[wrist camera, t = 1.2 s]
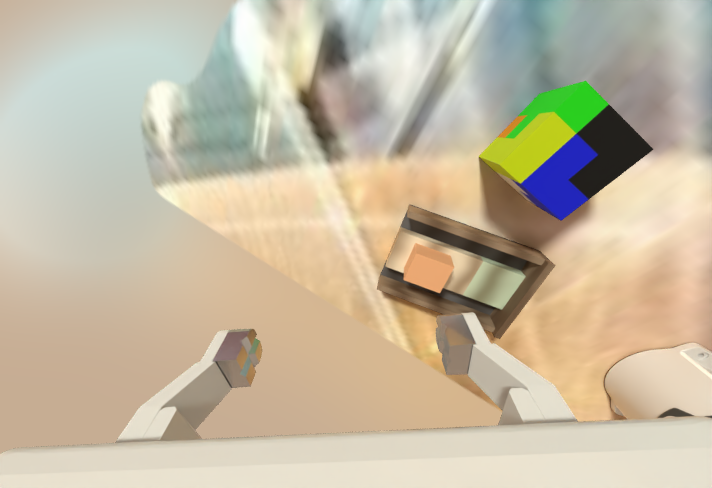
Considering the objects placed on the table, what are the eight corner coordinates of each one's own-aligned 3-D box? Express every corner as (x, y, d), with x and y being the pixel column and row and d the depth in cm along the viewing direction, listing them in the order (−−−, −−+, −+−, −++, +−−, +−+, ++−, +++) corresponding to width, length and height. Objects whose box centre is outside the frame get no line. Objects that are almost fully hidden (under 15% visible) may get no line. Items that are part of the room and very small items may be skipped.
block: (450, 255, 43) (454, 267, 39) (437, 280, 45) (439, 293, 41) (415, 242, 43) (416, 253, 39) (403, 267, 45) (403, 279, 41)
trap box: (539, 250, 42) (555, 265, 38) (491, 319, 49) (499, 338, 44) (409, 204, 43) (409, 213, 38) (379, 277, 49) (376, 292, 45)
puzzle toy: (526, 200, 40) (561, 220, 31) (478, 156, 39) (499, 164, 29) (591, 144, 35) (653, 149, 26) (539, 93, 34) (585, 80, 25)
